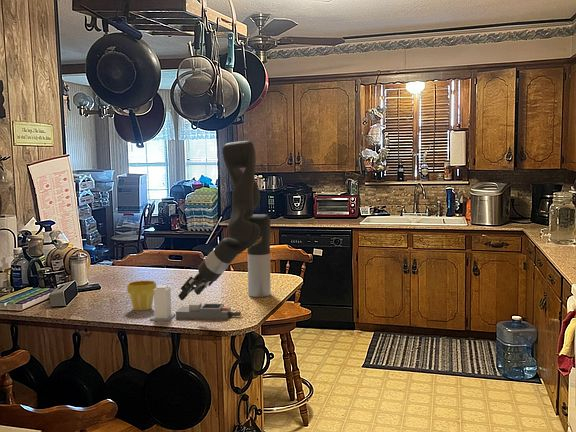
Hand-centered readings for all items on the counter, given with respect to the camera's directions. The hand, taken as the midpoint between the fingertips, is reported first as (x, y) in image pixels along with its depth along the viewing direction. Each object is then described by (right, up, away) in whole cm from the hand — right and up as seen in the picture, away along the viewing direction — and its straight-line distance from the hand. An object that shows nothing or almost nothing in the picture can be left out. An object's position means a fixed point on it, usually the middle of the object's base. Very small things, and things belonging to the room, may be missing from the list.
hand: (188, 295), depth 193 cm
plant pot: (-21, -8, +20) cm, 30 cm away
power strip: (+6, -8, +8) cm, 13 cm away
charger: (-10, -8, +6) cm, 14 cm away
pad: (-10, -9, +6) cm, 15 cm away
